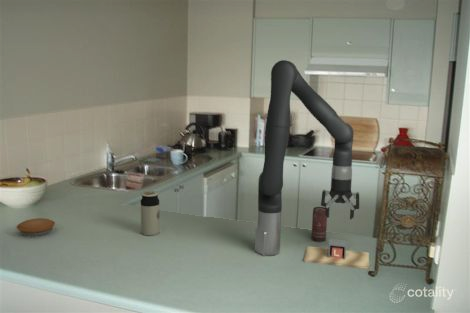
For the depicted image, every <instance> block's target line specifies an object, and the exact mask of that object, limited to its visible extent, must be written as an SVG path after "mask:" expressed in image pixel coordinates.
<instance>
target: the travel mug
mask: <svg viewBox="0 0 470 313" xmlns="http://www.w3.org/2000/svg"><path fill="white" fill-rule="evenodd" d="M140 196H141V200H140V226H141V227H140V229H141V230H140V231H141V232H140V233H141V234H142V235H144V236H155V235H158V234H159V233H160V230H161V228H160V227H161V226H160V223H161V222H160V199H159V192H158V191H154V190H149V191H143V192H141V195H140Z"/></svg>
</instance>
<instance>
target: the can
mask: <svg viewBox="0 0 470 313" xmlns="http://www.w3.org/2000/svg"><path fill="white" fill-rule="evenodd" d="M325 210H326V208H325V207H324V206H316V207H313V210H312V219H311V220H312V222H311V240H312V241H314V242H317V243H323V242H325V241H326V240H327V223H328V217H327V216H326V215H325Z"/></svg>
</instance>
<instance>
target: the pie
mask: <svg viewBox="0 0 470 313" xmlns="http://www.w3.org/2000/svg"><path fill="white" fill-rule="evenodd" d="M55 225H56V222H55V221H54V220H51V219H49V218H43V217H41V218H31V219H27V220H24V221H22V222H20V223H19V224H17V226H16V230H17V231H18V232H20V233H21V234H23V236H24V235H25V236H24V237H27V236H31V237H30V238H36V237H35V236H38V237H41V236H42V235H43V236H46V235H49V234H50V233H51V232H52V229H53V228H54V226H55ZM32 236H33V237H32ZM43 236H42V237H43Z"/></svg>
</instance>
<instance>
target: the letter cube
mask: <svg viewBox="0 0 470 313" xmlns="http://www.w3.org/2000/svg"><path fill="white" fill-rule="evenodd" d="M342 254H343V247H339V246H332V258H341V259H342Z"/></svg>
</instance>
